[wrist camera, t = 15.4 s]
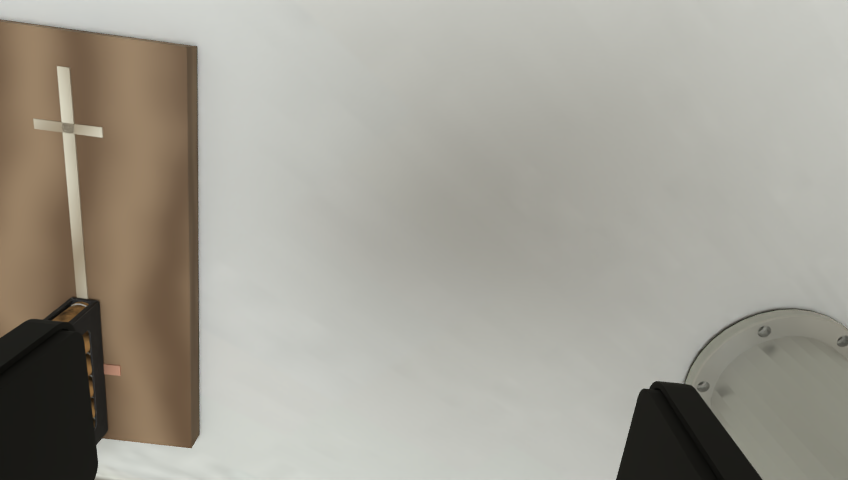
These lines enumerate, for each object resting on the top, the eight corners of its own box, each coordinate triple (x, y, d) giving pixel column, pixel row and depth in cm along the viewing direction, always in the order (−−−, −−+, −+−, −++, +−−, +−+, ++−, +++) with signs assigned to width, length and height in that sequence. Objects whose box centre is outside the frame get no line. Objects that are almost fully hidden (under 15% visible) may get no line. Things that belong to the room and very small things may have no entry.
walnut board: (197, 46, 33) (185, 46, 32) (199, 434, 43) (190, 449, 41) (-46, 13, 33) (-68, 12, 31) (11, 413, 42) (-5, 427, 41)
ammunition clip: (108, 432, 41) (-16, 584, 29) (82, 429, 41) (-52, 580, 29) (99, 299, 37) (-46, 414, 26) (70, 296, 37) (-87, 409, 26)
